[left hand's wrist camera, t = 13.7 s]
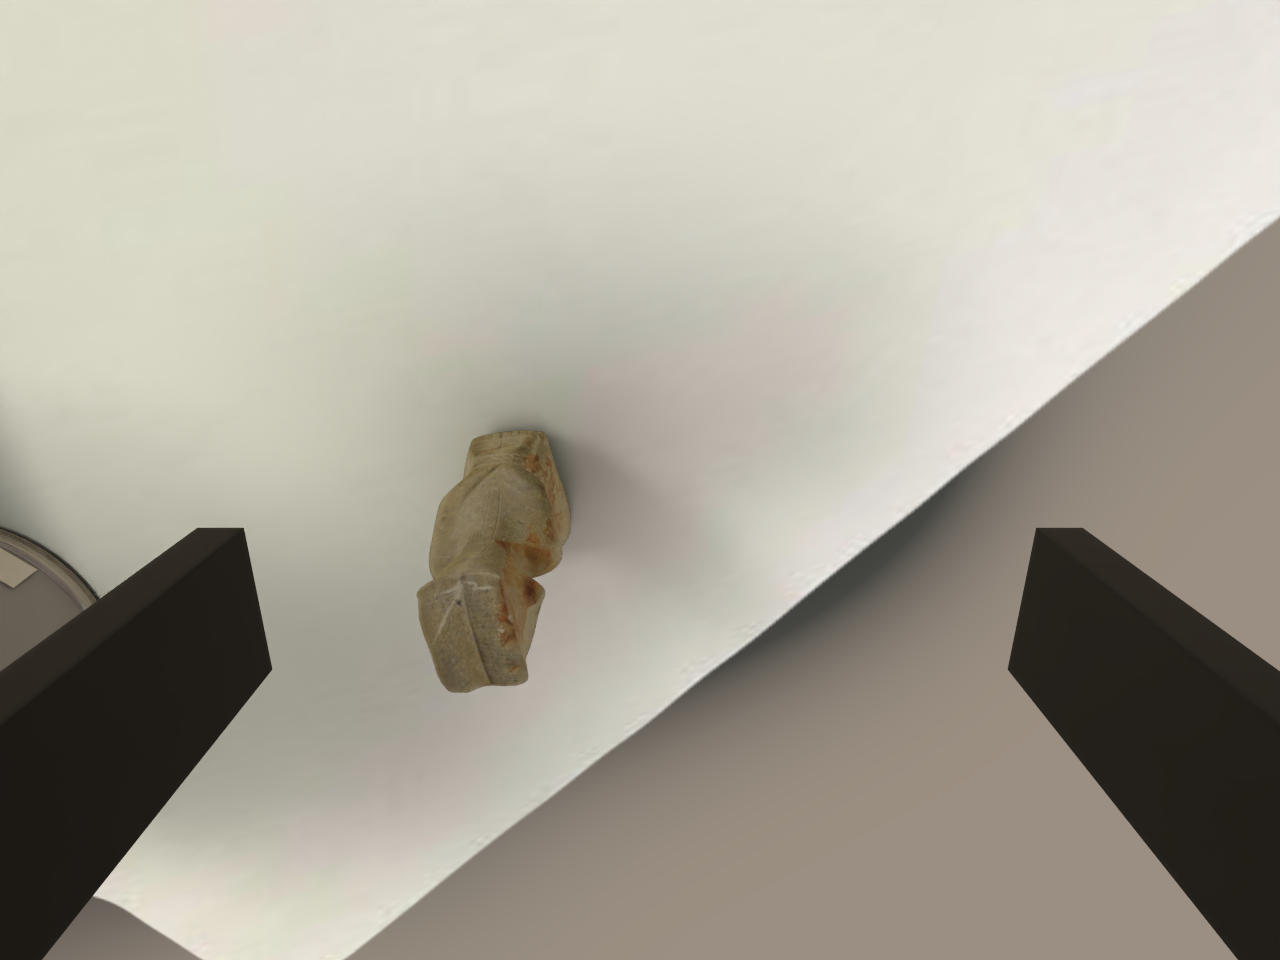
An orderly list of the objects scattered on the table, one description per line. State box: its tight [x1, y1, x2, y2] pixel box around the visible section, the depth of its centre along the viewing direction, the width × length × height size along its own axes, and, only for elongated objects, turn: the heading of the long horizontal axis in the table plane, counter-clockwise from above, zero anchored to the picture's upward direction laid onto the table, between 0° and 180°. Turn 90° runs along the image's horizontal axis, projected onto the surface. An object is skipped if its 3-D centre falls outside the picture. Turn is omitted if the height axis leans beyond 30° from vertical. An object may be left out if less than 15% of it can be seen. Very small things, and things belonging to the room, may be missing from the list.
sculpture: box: [417, 430, 571, 693], centre depth 34 cm, size 6×7×15 cm
